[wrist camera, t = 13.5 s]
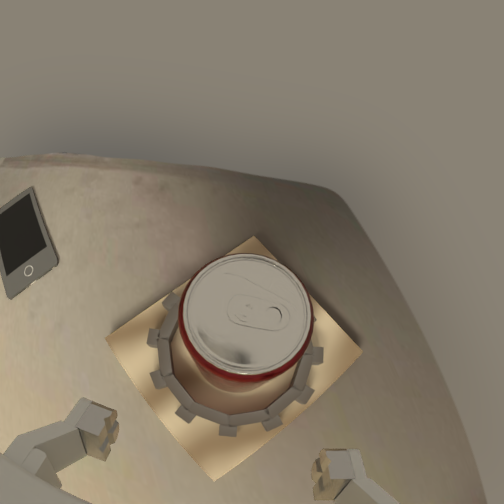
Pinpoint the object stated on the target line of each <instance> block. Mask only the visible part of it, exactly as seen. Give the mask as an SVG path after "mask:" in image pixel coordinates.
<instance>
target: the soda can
mask: <svg viewBox="0 0 504 504" xmlns="http://www.w3.org/2000/svg"><path fill="white" fill-rule="evenodd" d="M178 326H179V332H180V335H181V338H182V340H183V343H184V345H185V347H186V349H187V351H188V352H189V354H190V356H191V358H192V359H193V361H194V363H195V365H196V366H197V368H198V370H199V371H200V373H201V374H202V376H203V377H204V378H205V379H206V380H207V381H208V382H209V383H210V384H212V385H213V386H215V387H216V388H218V389H221V390H223V391H226V392H232V393H243V392H248V391H252V390H254V389H257V388H259V387H261V386H262V385H264V384H266V383H268V382H269V381H271V380H273V379H275V378H276V377H278V376H280V375H282V374H283V373H285V372H286V371H287V370H289V369H290V368H291V367H293V366H294V365H295V364H296V363H297V362H298V361H299V359H300V358H301V357H302V356H303V354H304V353H305V351H306V349H307V347H308V346H309V343H310V340H311V337H312V334H313V328H314V311H313V305H312V302H311V299H310V296H309V293H308V291H307V290H306V288H305V286H304V284H303V283H302V281H301V280H300V279H299V278H298V276H297V275H296V274H295V273H294V272H293V271H291V270H290V269H289V268H288V267H287V266H285V265H284V264H282V263H280V262H278V261H277V260H275V259H272V258H269V257H267V256H264V255H259V254H254V253H236V254H229V255H225V256H222V257H220V258H217V259H215V260H213V261H211V262H209V263H207V264H206V265H204V266H203V267H202V268H201V269H200V270H198V271H197V272H196V273H195V274H194V275H193V277H192V278H191V279H190V280H189V282H188V283H187V285H186V287H185V289H184V291H183V293H182V295H181V298H180V302H179V306H178Z"/></svg>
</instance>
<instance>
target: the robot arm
mask: <svg viewBox="0 0 504 504" xmlns="http://www.w3.org/2000/svg"><path fill="white" fill-rule="evenodd" d="M116 418H117V411H116V410H114V409H111V408H108V407H106V406H103V405H101V404H98V403H96V402H93V401H91V400H88V399H86V398H84V397H83V398H81V399H80V400H79V401H78V402H77V404H76V405H75V407H74V408H73V409H72V411H71V412H70V414H69V415H68V416H67V418H66V419H65V421H64V422H63V421H58V422H56V423H53V424H50V425H47V426H44V427H42V428H39V429H36V430H33V431H30V432H27V433H24V434H21V435H18V436H17V437H16V438H15V440H14V441H13V442H12V443H11V445H10V446H9V447H8V449H7V450H6V451H5V453H4V454H1V453H0V504H92V503H89V502H87V501H85V500H83V499H80V498H78V497H76V496H74V495H72V494H70V493H68V492H66V491H64V490H62V489H60V488H61V486H62V484H61V481H60V480H59V478H58V476H57V474H56V473H57V472H58V471H60V470H62V469H64V468H66V467H67V466H69V465H71V464H73V463H75V462H76V461H78V460H80V459H82V458H83V457H85V456H87V455H89V456H92V457H94V458H97V459H99V460H102V461H106V459H107V457H108V455H109V453H110V451H111V448H110V445H111V444H113V443H115V441H116V439H117V436H118V432H119V423H118V422H117V421H116ZM319 457H320V458H318V459H316V460H315V462H314V463H313V466H312V471H311V476H312V480H313V481H314V482H315V483H316V484H315V485H314V487H313V495H314V500H334V503H335V504H400V503H399V502H398V501H397V500H395V499H394V498H393V497H392V496H391V495H389V494H388V493H387V492H386V491H385V490H383V489H382V488H381V487H380V486H379V485H378V484H377V483H375V482H374V481H373V480H372V479H371V478H367V475H366V472H365V468H364V464H363V461H362V457H361V454H360V451H359V450H358V449H322V450H321V451H320V453H319Z"/></svg>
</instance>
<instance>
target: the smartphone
mask: <svg viewBox="0 0 504 504" xmlns="http://www.w3.org/2000/svg"><path fill="white" fill-rule="evenodd" d="M57 265H58V259H57V256H56V254H55V251H54V249H53V246H52V244H51V241H50V239H49V236H48V233H47V230H46V228H45V225H44V222H43V219H42V216H41V213H40V210H39V207H38V204H37V201H36V198H35V195H34V191H33V189H32V188H31V187H29V188H28V189H26V190H25V191H23V192H22V193H21V194H19V195H18V196H16V197H15V198H14V199H12V200H11V201H9V202H8V203H7V204H5V205H4V206H3V207H1V208H0V272H1V276H2V280H3V284H4V288H5V291H6V295H7V297H8V298H9V299H10V300H12V299H13V298H14V297H15V296H17V295H18V294H19V293H21V292H22V291H23V290H25V289H26V288H27V287H29V286H30V285H31V284H33V283H34V282H35V281H37V280H38V279H39V278H41V277H42V276H44V275H45V274H46V273H48V272H49V271H50V270H52V268H53V267H56V266H57Z"/></svg>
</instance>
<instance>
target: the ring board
mask: <svg viewBox="0 0 504 504" xmlns="http://www.w3.org/2000/svg"><path fill="white" fill-rule="evenodd" d="M236 253H254V254H259V255H264V256H267V257H269V258H272V259H275V260H277V259H276V258H275V257H274V256H273V255H272V254H271V253H270V252H269V251H268V250H267V249H266V248H265V247H264V246H263V245H262V244H261V243H260V241H259V240H258V239H257V238H256V237H255V236H253V237H251V238H250V239H248V240H247V241H245V242H244V243H242V244H241V245H239V246H238V247H237V248H235V249H234V250H232V251H231V252H229V253H228V254H226V255H229V254H236ZM277 261H278V260H277ZM278 262H279V261H278ZM189 280H190V279H189ZM189 280H188V281H187V282H185V283H184V284H182V285H181V286H179V287H178V288H176V289H175V290H173V291H171V292H170V293H169V294H168V295H166V296H165V297H163V298H162V299H160V300H159V301H157V302H156V303H155V304H153V305H152V306H150V307H149V308H147V309H146V310H144V311H143V312H142V313H140V314H139V315H137V316H136V317H134V318H133V319H131V320H130V321H129V322H127V323H126V324H124V325H123V326H121V327H120V328H118V329H117V330H116V331H114V332H113V333H111V334H110V335H108V336H107V337H106V338H105V339H106V341H107V343H108V344H109V346H110V348H111V349H112V351H113V353H114V354H115V356H116V357H117V359H118V361H119V362H120V364H121V365H122V367H123V368H124V370H125V371H126V373H127V374H128V376H129V377H130V379H131V380H132V382H133V383H134V385H135V386H136V387H137V389H138V390H139V392H140V393H141V395H142V396H143V397H144V399H145V400H146V401H147V403H148V404H149V405H150V407H151V408H152V410H153V411H154V412H155V413H156V415H157V416H158V417H159V419H160V420H161V421H162V422H163V424H164V425H165V426H166V428H167V429H168V430H169V431H170V432H171V434H172V435H173V436H174V437H175V439H176V440H177V441H178V442H179V443H180V444H181V446H182V447H183V448H184V449H185V450H186V451H187V453H188V454H189V455H190V456H191V457H192V458H193V459H194V460H195V462H196V463H197V464H198V465H199V466H200V467H201V468H202V469H203V470H204V471H205V472H206V473H207V474H208V476H209V477H210V478H211V479H212V480H213V481H215V480H217V479H218V478H220V477H221V476H223V475H224V474H226V473H227V472H228V471H230V470H231V469H233V468H234V467H235V466H237V465H238V464H239V463H241V462H242V461H244V460H245V459H246V458H248V457H249V456H250V455H251V454H253V453H254V452H255V451H257V450H258V449H259V448H260V447H262V446H263V445H264V444H266V443H267V442H268V441H269V440H270V439H272V438H273V437H274V436H275V435H277V434H278V433H279V432H280V431H281V430H283V429H284V428H285V427H286V426H287V425H288V424H290V423H291V422H292V421H293V420H294V419H295V418H296V417H298V416H299V415H300V414H301V413H302V412H303V411H304V410H305V409H306V408H308V407H309V406H310V405H311V404H312V403H313V402H314V401H315V400H316V399H317V398H318V397H319V396H320V395H321V394H322V393H323V392H325V391H326V390H327V389H328V388H329V387H330V386H331V385H332V384H333V383H334V382H335V381H336V380H337V379H338V378H339V377H340V376H341V375H342V374H343V373H344V372H345V371H346V370H347V368H348V367H349V366H350V365H351V364H352V363H353V362H354V361H355V360H356V359H357V358H358V357H359V356H360V355H361V354H362V352H363V351H362V350H361V349H360V348H359V347H358V346H357V345H356V344H355V343H354V341H353V340H352V339H351V338H350V337H349V336H348V335H347V334H346V333H345V332H344V331H343V330H342V329H341V327H340V326H339V325H338V324H337V323H336V322H335V321H334V320H333V319H332V318H331V317H330V316H329V315H328V314H327V312H326V311H325V310H324V309H323V308H322V307H321V306H320V305H319V304H318V303H317V302H316V301H315V300H314V299H313V298H312V296H311V295H310V294H309V296H310V299H311V302H312V305H313V311H314V328H313V334H312V337H311V340H310V343H309V346H308V347H307V349H306V351H305V353H304V354H303V356H302V357H301V358H300V359H299V361H298V362H297V363H296V364H295V365H294V366H293V367H291V368H290V369H289V370H287V371H286V372H285V373H283V374H282V375H280V376H278V377H276V378H275V379H273V380H271V381H269V382H268V383H266V384H264V385H262V386H261V387H259V388H257V389H254V390H252V391H248V392H243V393H232V392H226V391H223V390H221V389H218V388H216V387H215V386H213V385H212V384H210V383H209V382H208V381H207V380H206V379H205V378H204V377H203V376H202V374H201V373H200V371H199V370H198V368H197V366H196V365H195V363H194V361H193V359H192V358H191V356H190V354H189V352H188V351H187V349H186V347H185V345H184V343H183V340H182V338H181V335H180V332H179V326H178V306H179V302H180V298H181V295H182V293H183V291H184V289H185V287H186V285H187V283H188V282H189Z"/></svg>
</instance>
